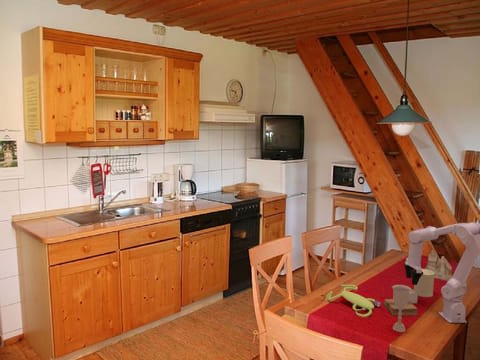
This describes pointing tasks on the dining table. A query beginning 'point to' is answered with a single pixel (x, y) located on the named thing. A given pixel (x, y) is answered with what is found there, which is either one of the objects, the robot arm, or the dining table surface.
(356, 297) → the figurine
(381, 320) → the dining table surface
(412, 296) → the cube
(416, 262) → the robot arm
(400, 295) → the chalice
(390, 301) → the plinth
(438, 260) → the ceramic cottage
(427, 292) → the can
